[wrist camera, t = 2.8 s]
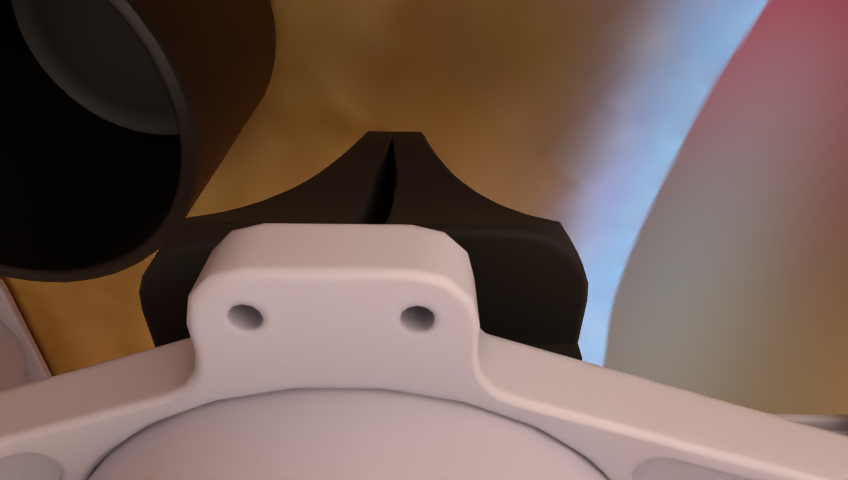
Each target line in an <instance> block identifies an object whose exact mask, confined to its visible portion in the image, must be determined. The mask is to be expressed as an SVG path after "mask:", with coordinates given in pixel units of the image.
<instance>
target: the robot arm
mask: <svg viewBox="0 0 848 480" xmlns="http://www.w3.org/2000/svg"><path fill="white" fill-rule="evenodd" d="M139 294H140V300H141V306H142V311H143V313H144V316H145V319H146V322H147V325H148V328H149V331H150V334H151V336H152V339H153V342H154V345H155V348H152V349H148V350H145V351H141V352H138V353H134V354H131V355H127V356H123V357H120V358H116V359H113V360H109V361H106V362H102V363H99V364H95V365H91V366H88V367H84V368H81V369H77V370H74V371H70V372H67V373H63V374H60V375H56V376H52V375H51V373H50V371H49V369H48V367H47V365H46V363H45V361H44V359H43V357H42V355H41V353H40V351H39V349H38V347H37V345H36V343H35V341H34V339H33V337H32V335H31V333H30V331H29V329H28V327H27V325H26V323H25V321H24V319H23V317H22V315H21V313H20V311H19V310H18V308H17V306H16V304H15V302H14V300H13V298H12V296H11V294H10V292H9V290H8V288H7V286H6V284H5V282H4V281H3V280H2V279H1V278H0V480H848V415H847V414H846V415H844V414H767V413H764V412H760V411H757V410H753V409H750V408H746V407H742V406H739V405H736V404H732V403H729V402H725V401H722V400H718V399H714V398H711V397H708V396H704V395H701V394H697V393H693V392H690V391H687V390H683V389H680V388H676V387H672V386H669V385H665V384H662V383H658V382H655V381H652V380H648V379H645V378H640V377H637V376H634V375H630V374H627V373H623V372H620V371H616V370H613V369H609V368H606V367H602V366H599V365H595V364H592V363H588V362H585V361H582V356H581V353H580V350H579V346H578V339H579V335H580V330H581V326H582V321H583V317H584V312H585V308H586V303H587V295H588V281H587V278H586V274H585V271H584V267H583V264H582V262H581V259H580V257H579V255H578V252H577V251H576V249H575V247H574V245H573V243H572V241H571V240H570V238H569V236H568V235H567V233H566V232H565V230H564V228H563V227H562V225H561V223H560V222H557V221H552V220H548V219H543V218H539V217H534V216H530V215H526V214H523V213H520V212H518V211H515V210H512V209H509V208H507V207H504V206H502V205H499V204H497V203H495V202H493V201H491V200H490V199H488V198H486V197H484V196H482V195H480V194H479V193H477V192H475V191H474V190H473V189H471V188H470V187H468V186H467V185H466V184H464V183H463V182H461V181H460V180H459V179H458V178H457V177H456V176H454V175H453V174H452V173H451V172H450V170H449V169H448V168H447V167H446V166H445V165H444V164H443V162H442V161H441V160H440V159H439V158H438V156H437V155H436V154H435V152H434V151H433V149H432V148H431V146H430V145H429V143H428V142H427V140H426V137H425V136H424V135H423V134H422V133H421V132H381V131H368V132H367V133H366V134H365V135H364V136H363V137H362V138H361V139H360V140H359V141H357V142H356V143H355V144H354V145H353V146H352V147H351V148H350V149H349V150H348V151H347V152H346V153H344V154H343V155H342V156H341V157H340V158H339V159H337V160H336V161H335V162H333V163H332V164H331V165H329V166H328V167H327V168H325V169H324V170H323V171H321V172H320V173H318V174H317V175H315V176H314V177H312V178H311V179H309V180H307V181H306V182H304V183H302V184H300V185H298V186H296V187H294V188H292V189H290V190H288V191H286V192H283V193H281V194H278V195H276V196H274V197H271V198H269V199H266V200H264V201H261V202H258V203H255V204H251V205H248V206H245V207H241V208H237V209H233V210H229V211H225V212H220V213H214V214H208V215H202V216H197V217H191V218H183V219H180V220H179V222H178V223H177V224H176V226H175V227H174V228H173V230H172V231H171V232H170V234H169V235H168V236H167V238H166V240H165V241H164V243H163V244H162V246H161V247H160V249H159V251H158V252H157V254H156V255H155V257H154V259H153V260H152V262H151V263H150V265H149V266H148V268H147V270H146V271H145V273H144V274H143V276H142V280H141V286H140V291H139Z"/></svg>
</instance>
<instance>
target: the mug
mask: <svg viewBox="0 0 848 480" xmlns="http://www.w3.org/2000/svg"><path fill="white" fill-rule="evenodd" d="M275 47H276V37H275V26H274V17H273V13H272V9H271V5H270V1H269V0H0V276H4V277H8V278H15V279H22V280H29V281H40V282H72V281H82V280H89V279H95V278H99V277H103V276H107V275H111V274H115V273H117V272H119V271H122V270H124V269H126V268H129V267H131V266H133V265H135V264H137V263H139V262H141V261H142V260H144V259H145V258H147V257H148V256H150V255H151V254H153V253H154V252H156V251H157V250H159V249H160V247H161V246H162V244H163V243H164V241H165V240H166V238H167V236H168V235H169V234H170V232H171V231H172V230H173V228H174V227H175V226H176V224H177V223H178V222H179V220H180V219H183V218H185V217H186V216H187V214H188V213H189V211H190V210H191V208H192V206H193V205H194V203H195V202H196V200H197V199H198V197H199V196H200V194H201V192H202V191H203V189H204V188H205V186H206V185H207V183H208V182H209V180H210V179H211V177H212V175H213V174H214V172H215V171H216V169H217V168H218V166H219V165H220V163H221V161H222V160H223V158H224V157H225V155H226V154H227V152H228V151H229V149H230V147H231V146H232V144H233V143H234V141H235V140H236V138H237V137H238V135H239V134H240V132H241V130H242V129H243V127H244V126H245V124H246V123H247V121H248V120H249V118H250V116H251V115H252V113H253V112H254V110H255V109H256V107H257V106H258V104H259V102H260V101H261V99H262V98H263V96H264V94H265V92H266V89H267V87H268V84H269V82H270V78H271V75H272V71H273V66H274V61H275Z"/></svg>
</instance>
